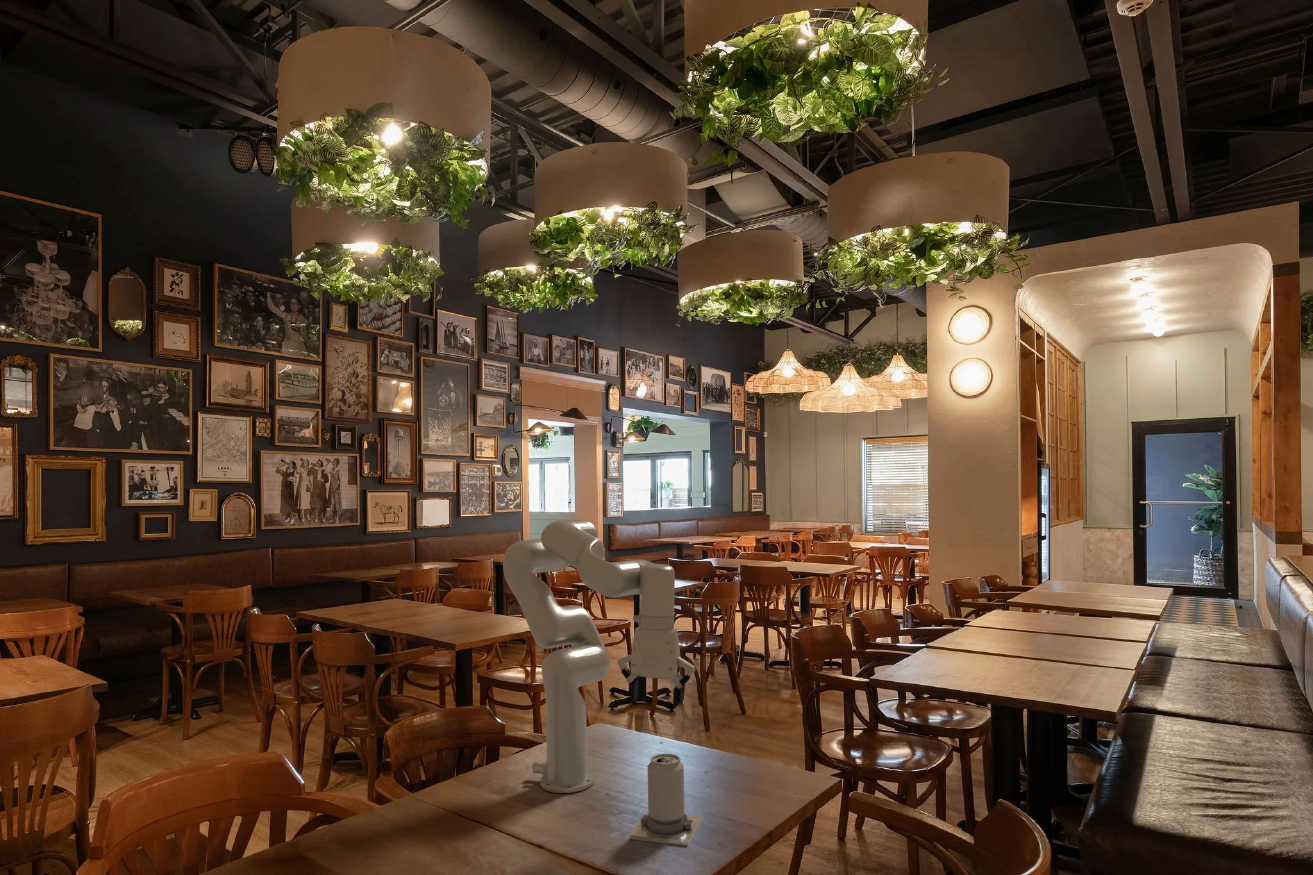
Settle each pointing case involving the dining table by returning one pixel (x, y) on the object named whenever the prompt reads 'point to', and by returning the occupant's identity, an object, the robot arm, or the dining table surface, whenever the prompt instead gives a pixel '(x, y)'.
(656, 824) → the white flat square plate
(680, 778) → the can
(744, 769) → the dining table surface
